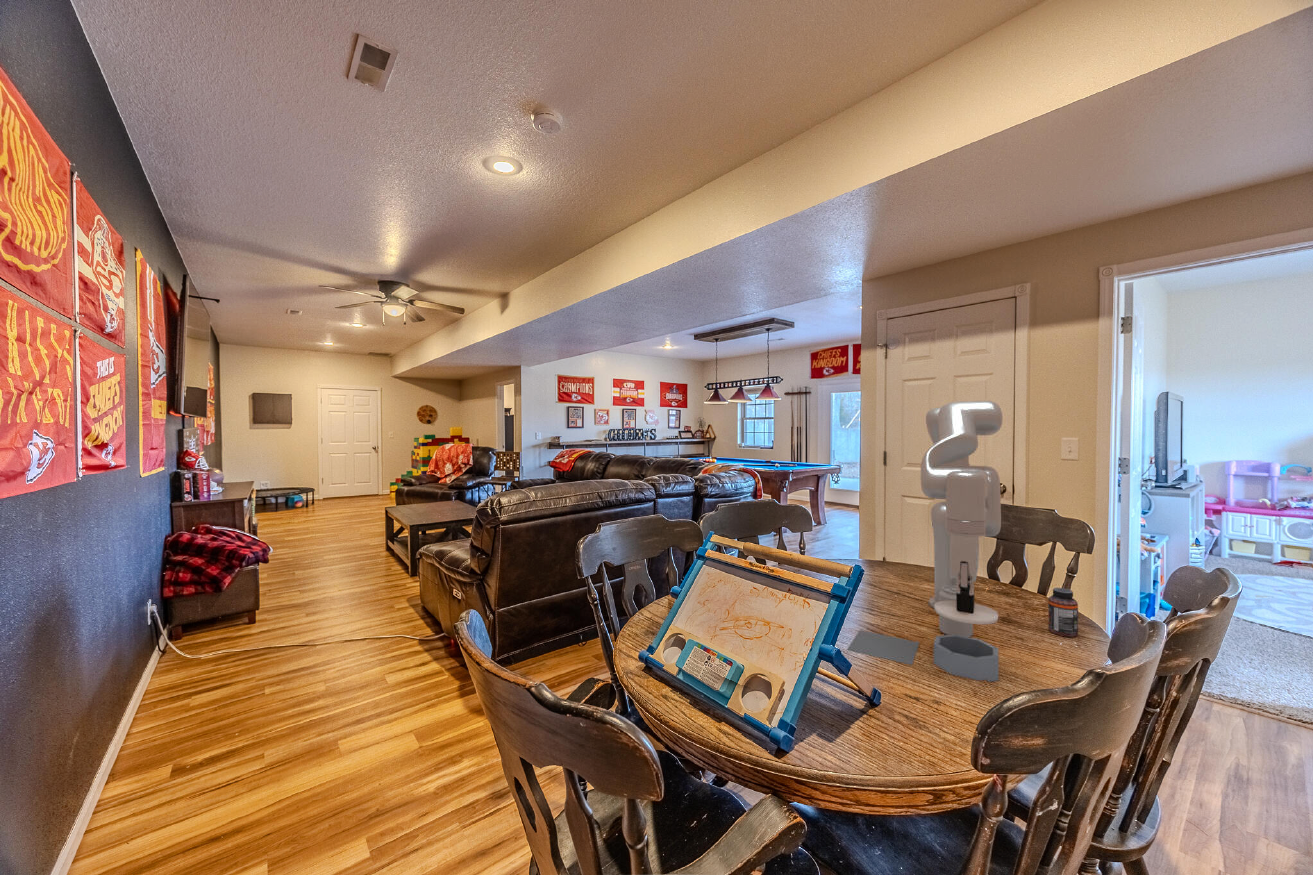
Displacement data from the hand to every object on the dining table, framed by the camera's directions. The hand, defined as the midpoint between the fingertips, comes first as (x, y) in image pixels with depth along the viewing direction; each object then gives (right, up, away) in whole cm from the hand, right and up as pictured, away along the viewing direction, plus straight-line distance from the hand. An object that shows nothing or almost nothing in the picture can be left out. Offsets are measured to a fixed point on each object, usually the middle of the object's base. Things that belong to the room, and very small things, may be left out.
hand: (965, 608), depth 110 cm
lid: (0, -1, 0) cm, 1 cm away
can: (+9, -13, +18) cm, 24 cm away
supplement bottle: (+37, -13, +19) cm, 44 cm away
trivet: (-13, -14, +11) cm, 22 cm away
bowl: (0, -13, 0) cm, 13 cm away
